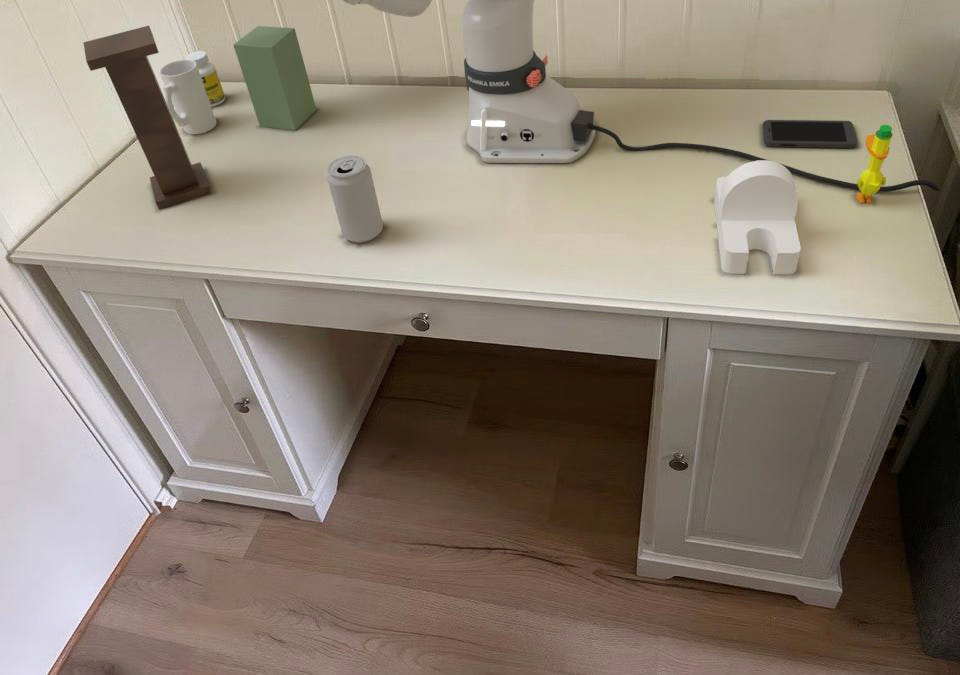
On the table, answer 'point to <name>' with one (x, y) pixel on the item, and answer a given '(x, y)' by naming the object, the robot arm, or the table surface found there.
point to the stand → (148, 114)
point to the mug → (187, 96)
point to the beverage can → (355, 198)
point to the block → (275, 77)
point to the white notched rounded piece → (757, 216)
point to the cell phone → (809, 133)
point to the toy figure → (874, 163)
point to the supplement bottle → (208, 77)
